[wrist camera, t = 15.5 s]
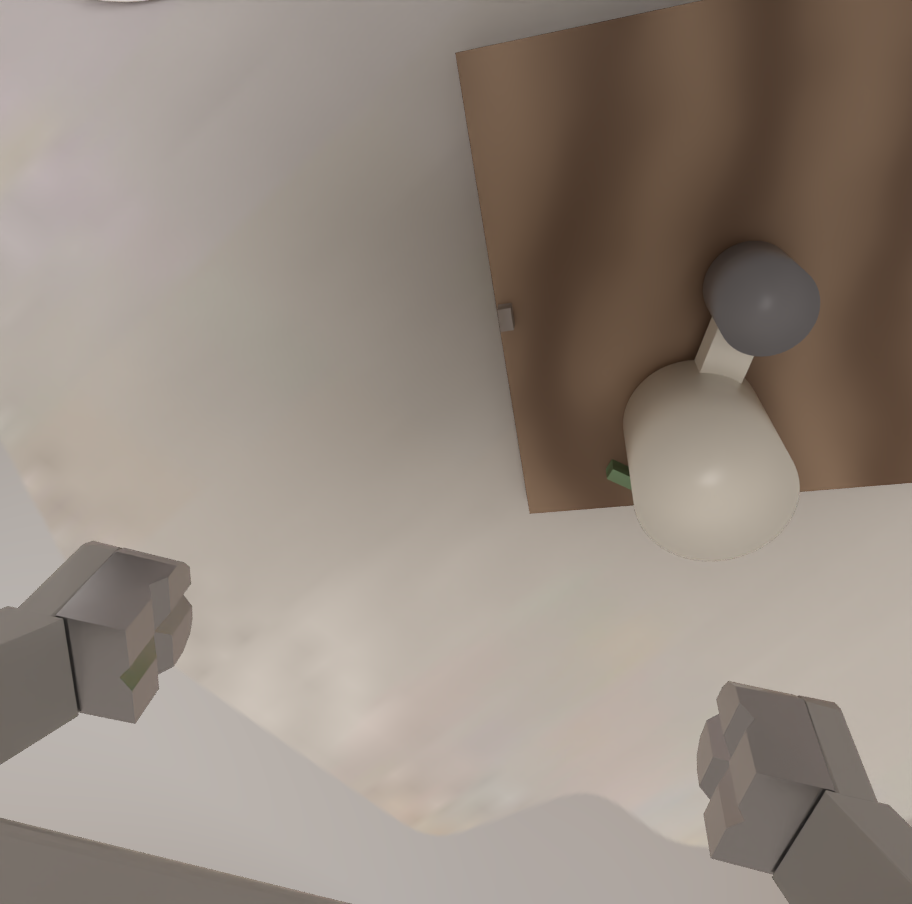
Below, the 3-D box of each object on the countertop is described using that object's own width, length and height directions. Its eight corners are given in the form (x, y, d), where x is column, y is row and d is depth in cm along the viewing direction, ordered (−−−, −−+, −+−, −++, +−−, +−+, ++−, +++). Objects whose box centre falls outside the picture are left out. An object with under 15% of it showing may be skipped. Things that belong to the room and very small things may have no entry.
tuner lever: (693, 223, 30) (722, 263, 24) (839, 260, 29) (903, 309, 24) (605, 460, 35) (612, 539, 29) (728, 492, 35) (759, 577, 29)
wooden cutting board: (1057, -74, 25) (1102, -86, 23) (976, 460, 35) (1003, 487, 32) (460, 52, 30) (451, 52, 27) (531, 498, 39) (528, 524, 37)
